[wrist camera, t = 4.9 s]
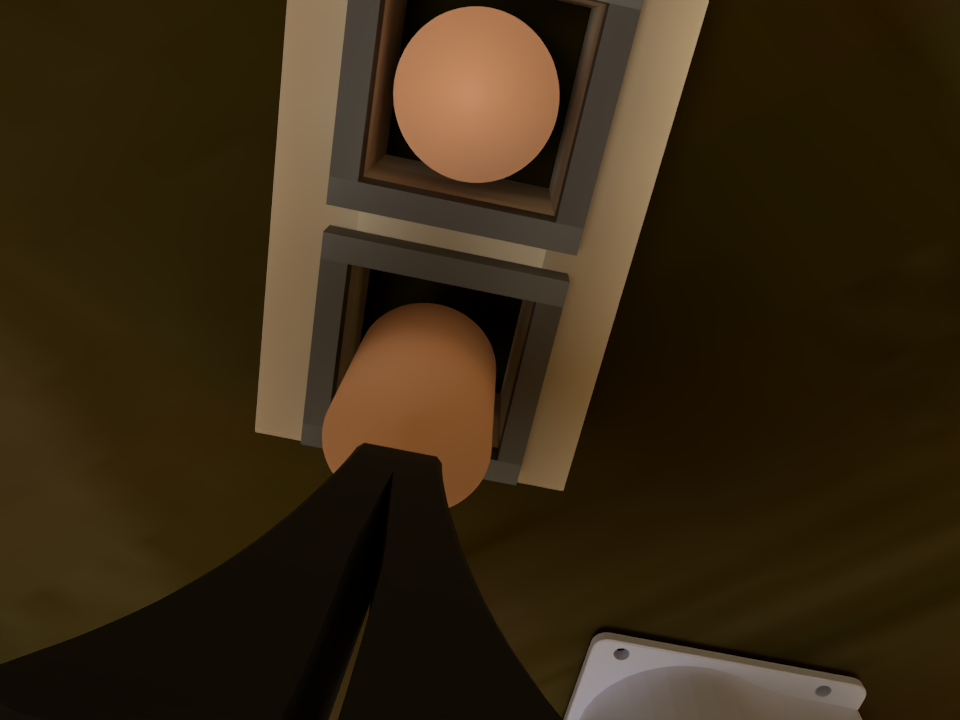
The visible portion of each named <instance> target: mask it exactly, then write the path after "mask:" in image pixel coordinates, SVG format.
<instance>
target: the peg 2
mask: <svg viewBox="0 0 960 720" xmlns="http://www.w3.org/2000/svg"><path fill="white" fill-rule="evenodd" d="M495 383H496V361H495V355H494V352H493V348H492V346H491V344H490V342H489V340H488V338H487V337H486V335H485V333H484V332H483V331H482V330H481V328H480V327H479V326H478V325H477V324H476V323H475V322H474V321H473V320H471V319H470V318H469V317H467V316H466V315H464V314H463V313H461V312H459V311H457V310H455V309H452V308H450V307H447V306H443V305H440V304H433V303H414V304H408V305H404V306H400V307H398V308H395V309H393V310H391V311H389V312H387V313H385V314H384V315H383V316H381V317H380V318H379V319H377V320H376V321H375V322H374V323H373V324H372V326H371V327H370V328H369V330H368V331H367V332H366V334H365V336H364V338H363V340H362V342H361V344H360V346H359V348H358V350H357V352H356V354H355V356H354V358H353V360H352V362H351V364H350V366H349V368H348V370H347V372H346V374H345V376H344V378H343V380H342V382H341V384H340V386H339V388H338V390H337V392H336V394H335V396H334V399H333V401H332V403H331V405H330V407H329V409H328V411H327V413H326V416H325V419H324V423H323V428H322V445H323V451H324V455H325V458H326V461H327V463H328V465H329V467H330V469H331V471H332V473H334V472H335V471H336V470H337V469H338V468H339V467H340V466H341V465H342V464H343V463H344V462H345V461H346V459H347V458H348V457H349V456H350V455H351V454H352V452H353V451H354V450H355V449H356V447H358V446H359V445H361V444H363V443H369V444H374V445H380V446H385V447H390V448H395V449H400V450H406V451H411V452H416V453H421V454H426V455H432V456H437V457H438V459H439V460H440V461H441V463H442V475H443V483H444V488H445V493H446V498H447V502H448V506H449V508H450V507H452V506H454V505H456V504H457V503H459V502H461V501H462V500H464V499H465V498H466V497H467V496H469V495H470V494H471V493H472V492H473V491H474V490H475V489H476V488H477V487H478V485H479V484H480V482H481V481H482V479H483V478H484V476H485V474H486V472H487V469H488V466H489V463H490V458H491V450H492V433H493V417H494V400H495Z"/></svg>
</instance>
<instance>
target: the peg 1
mask: <svg viewBox="0 0 960 720" xmlns="http://www.w3.org/2000/svg"><path fill="white" fill-rule="evenodd" d="M559 94H560V93H559V81H558V77H557V72H556V68H555V65H554V62H553V60H552V57H551V55H550V53H549V51H548V49H547V48H546V46H545V45H544V43H543V42H542V40H541V39H540V38H539V36H538V35H537V34H536V33H535V32H534V31H533V30H532V29H531V28H530V27H529V26H527V25H526V24H525V23H524V22H522V21H521V20H519V19H518V18H516V17H515V16H513V15H511V14H508V13H506V12H504V11H501V10H497V9H494V8H489V7H482V6H470V7H463V8H458V9H454V10H451V11H448V12H446V13H443V14H441V15H439V16H437V17H436V18H434V19H433V20H431V21H429V22H428V23H427V24H426V25H424V26H423V27H422V28H421V29H420V30H419V31H418V32H417V33H416V34H415V35H414V37H413V38H412V39H411V40H410V42H409V43H408V45H407V46H406V48H405V50H404V52H403V54H402V56H401V58H400V61H399V64H398V67H397V70H396V74H395V79H394V89H393V99H394V109H395V114H396V118H397V122H398V125H399V128H400V130H401V132H402V134H403V137H404V138H405V140H406V142H407V143H408V145H409V147H410V148H411V149H412V151H413V152H414V153H415V154H416V155H417V156H418V157H419V158H420V159H421V160H422V161H423V162H424V163H425V164H426V165H427V166H429V167H430V168H431V169H433V170H434V171H436V172H438V173H440V174H441V175H444V176H446V177H448V178H451V179H454V180H458V181H462V182H469V183H484V182H492V181H496V180H499V179H503V178H505V177H508V176H510V175H512V174H514V173H516V172H517V171H519V170H521V169H522V168H524V167H525V166H526V165H527V164H529V163H530V162H531V161H532V160H533V159H534V158H535V157H536V156H537V155H538V154H539V152H540V151H541V150H542V148H543V147H544V146H545V144H546V142H547V141H548V139H549V137H550V135H551V133H552V130H553V128H554V125H555V122H556V118H557V114H558V108H559Z"/></svg>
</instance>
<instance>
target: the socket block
mask: <svg viewBox="0 0 960 720" xmlns="http://www.w3.org/2000/svg"><path fill="white" fill-rule="evenodd" d="M407 1H408V0H287V11H286V24H285V38H284V51H283V64H282V78H281V91H280V104H279V118H278V131H277V144H276V158H275V171H274V185H273V198H272V211H271V225H270V238H269V251H268V265H267V278H266V292H265V305H264V318H263V332H262V345H261V358H260V372H259V385H258V399H257V412H256V425H255V432H258V433H264V434H269V435H274V436H279V437H284V438H290V439H295V440H300V441H301V444H303V445H308V446H313V447H318V448H323V445H322V428H323V423H324V419H325V416H326V413H327V411H328V409H329V407H330V405H331V403H332V401H333V399H334V396H335V394H336V392H337V390H338V388H339V386H340V384H341V382H342V380H343V378H344V376H345V374H346V372H347V370H348V368H349V366H350V364H351V362H352V360H353V358H354V356H355V354H356V352H357V350H358V348H359V346H360V340H361V333H362V326H363V319H364V311H365V304H366V297H367V290H368V283H369V275H370V269H375V270H380V271H385V272H390V273H395V274H400V275H405V276H410V277H414V278H419V279H424V280H429V281H434V282H439V283H444V284H449V285H454V286H459V287H464V288H469V289H474V290H479V291H484V292H488V293H493V294H498V295H503V296H508V297H513V298H518V299H523V300H522V304H521V308H520V313H519V317H518V321H517V325H516V329H515V334H514V338H513V342H512V346H511V351H510V355H509V359H508V363H507V368H506V372H505V376H504V380H503V384H502V389H501V393H497V392H495V400H494V417H493V433H492V450H491V458H490V463H489V466H488V469H487V472H486V474H485V476H484V478H483V479H485V480H490V481H495V482H501V483H506V484H511V485H517V482H519V483H524V484H529V485H534V486H539V487H545V488H550V489H555V490H560V491H563V490H564V486H565V483H566V480H567V476H568V473H569V470H570V466H571V463H572V460H573V456H574V453H575V449H576V446H577V443H578V439H579V436H580V433H581V429H582V426H583V423H584V419H585V416H586V412H587V409H588V406H589V402H590V399H591V396H592V392H593V389H594V386H595V382H596V379H597V376H598V372H599V369H600V365H601V362H602V359H603V355H604V352H605V349H606V345H607V342H608V339H609V335H610V332H611V328H612V325H613V322H614V318H615V315H616V312H617V308H618V305H619V302H620V298H621V295H622V292H623V288H624V285H625V281H626V278H627V275H628V271H629V268H630V265H631V261H632V258H633V255H634V251H635V248H636V244H637V241H638V238H639V234H640V231H641V228H642V224H643V221H644V218H645V214H646V211H647V208H648V204H649V201H650V197H651V194H652V191H653V187H654V184H655V181H656V177H657V174H658V171H659V167H660V164H661V160H662V157H663V154H664V150H665V147H666V144H667V140H668V137H669V134H670V130H671V127H672V124H673V120H674V117H675V113H676V110H677V107H678V103H679V100H680V97H681V93H682V90H683V87H684V83H685V80H686V76H687V73H688V70H689V66H690V63H691V60H692V56H693V53H694V50H695V46H696V43H697V40H698V36H699V33H700V29H701V26H702V23H703V19H704V16H705V13H706V9H707V6H708V3H709V0H557V1H561V2H566V3H570V4H575V5H580V6H584V7H589V8H591V12H590V16H589V21H588V25H587V29H586V33H585V38H584V42H583V46H582V50H581V55H580V59H579V63H578V67H577V71H576V76H575V80H574V84H573V88H572V93H571V97H570V101H569V105H568V110H567V114H566V118H565V122H564V126H563V131H562V135H561V139H560V143H559V148H558V152H557V156H556V160H555V165H554V169H553V173H552V177H551V181H550V186H549V188H545V187H540V186H536V185H531V184H526V183H521V182H517V181H512V180H507V179H499V180H496V181H492V182H484V183H469V182H462V181H458V180H454V179H451V178H448V177H446V176H444V175H441V174H440V173H438V172H436V171H434V170H433V169H431V168H430V167H429V166H427V165H426V164H425V163H424V162H421V161H416V160H411V159H407V158H402V157H397V156H392V155H388V154H386V152H387V145H388V138H389V131H390V123H391V116H392V109H393V102H394V99H393V89H394V79H395V74H396V70H397V67H398V64H399V58H400V51H401V44H402V37H403V29H404V22H405V15H406V8H407Z"/></svg>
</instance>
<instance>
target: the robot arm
mask: <svg viewBox="0 0 960 720" xmlns="http://www.w3.org/2000/svg"><path fill="white" fill-rule="evenodd" d="M370 601H371V602H370ZM369 604H370V610H369V617H368V620H367V624H366V627H365V631H364V634H363V638H362V641H361V645H360V648H359V652H358V655H357V659H356V662H355V665H354V669H353V672H352V676H351V679H350V682H349V686H348V689H347V692H346V696H345V699H344V702H343V705H342V709H341V712H340V715H339V718H338V720H562V718H561V717H560V716H559V715H558V713H557V712H556V711H555V710H554V708H553V707H552V706H551V705H550V703H549V702H548V701H547V699H546V698H545V697H544V695H543V694H542V692H541V691H540V690H539V688H538V687H537V685H536V684H535V682H534V681H533V680H532V678H531V677H530V675H529V674H528V672H527V671H526V669H525V668H524V667H523V665H522V664H521V662H520V661H519V659H518V658H517V657H516V655H515V654H514V652H513V651H512V649H511V647H510V646H509V644H508V642H507V641H506V639H505V637H504V636H503V634H502V632H501V630H500V629H499V627H498V625H497V624H496V622H495V620H494V618H493V616H492V614H491V612H490V611H489V609H488V607H487V605H486V603H485V601H484V599H483V597H482V595H481V593H480V591H479V589H478V586H477V584H476V582H475V580H474V577H473V575H472V573H471V570H470V568H469V565H468V563H467V561H466V558H465V556H464V553H463V550H462V548H461V545H460V542H459V539H458V536H457V533H456V530H455V527H454V524H453V520H452V517H451V514H450V510H449V506H448V502H447V498H446V493H445V488H444V483H443V475H442V463H441V461H440V460H439V459H438V457H437V456H432V455H426V454H421V453H416V452H411V451H406V450H400V449H395V448H390V447H385V446H380V445H374V444H369V443H363V444H361V445H359V446H358V447H356V449H355V450H354V451H353V452H352V454H351V455H350V456H349V457H348V458H347V459H346V461H345V462H344V463H343V464H342V465H341V466H340V467H339V468H338V469H337V470H336V471H335V472H334V473H333V474H332V475H331V476H330V477H329V478H328V479H327V480H326V481H325V482H324V483H323V484H322V485H321V486H320V487H319V488H318V489H317V490H316V491H315V492H314V493H313V494H312V495H310V496H309V497H308V498H307V499H306V500H305V501H304V502H303V503H302V504H301V505H300V506H298V507H297V508H296V509H295V510H294V511H293V512H291V513H290V514H289V515H288V516H286V517H285V518H284V519H283V520H282V521H280V522H279V523H278V524H277V525H275V526H274V527H273V528H272V529H270V530H269V531H268V532H267V533H265V534H264V535H263V536H261V537H260V538H259V539H257V540H256V541H255V542H253V543H252V544H251V545H249V546H248V547H246V548H245V549H244V550H242V551H241V552H239V553H238V554H236V555H235V556H233V557H232V558H230V559H229V560H227V561H226V562H224V563H223V564H221V565H220V566H218V567H216V568H215V569H213V570H212V571H210V572H208V573H207V574H205V575H203V576H201V577H200V578H198V579H196V580H195V581H193V582H191V583H189V584H188V585H186V586H184V587H183V588H181V589H179V590H177V591H176V592H174V593H172V594H170V595H168V596H166V597H164V598H163V599H161V600H159V601H157V602H155V603H153V604H151V605H149V606H147V607H144V608H142V609H140V610H138V611H136V612H134V613H132V614H129V615H127V616H125V617H123V618H121V619H118V620H116V621H114V622H111V623H109V624H107V625H104V626H102V627H100V628H97V629H95V630H93V631H90V632H88V633H85V634H83V635H80V636H78V637H75V638H73V639H70V640H67V641H64V642H62V643H59V644H56V645H53V646H51V647H48V648H45V649H42V650H39V651H37V652H34V653H31V654H28V655H25V656H23V657H20V658H17V659H14V660H11V661H9V662H6V663H2V664H0V720H329V717H330V714H331V711H332V708H333V706H334V703H335V700H336V697H337V694H338V692H339V689H340V686H341V683H342V680H343V678H344V675H345V672H346V669H347V666H348V664H349V661H350V658H351V655H352V652H353V650H354V647H355V644H356V641H357V638H358V635H359V633H360V630H361V627H362V624H363V621H364V618H365V616H366V613H367V610H368V607H369ZM619 648H624V649H625V650H622V651H617V649H619ZM820 686H821V687H820ZM865 697H866V690H865V688H864V686H863V684H862V682H861V681H859V680H858V679H856V678H853V677H847V676H842V675H837V674H831V673H826V672H820V671H815V670H809V669H804V668H799V667H793V666H788V665H782V664H777V663H772V662H766V661H761V660H755V659H750V658H744V657H739V656H734V655H728V654H723V653H717V652H712V651H707V650H701V649H696V648H690V647H685V646H680V645H674V644H669V643H663V642H658V641H652V640H647V639H642V638H636V637H631V636H625V635H620V634H615V633H607V632H604V633H600V634H597V635H596V636H594V638H593V639H592V641H591V643H590V646H589V649H588V652H587V654H586V657H585V660H584V663H583V666H582V669H581V671H580V674H579V677H578V680H577V683H576V685H575V688H574V691H573V694H572V697H571V699H570V702H569V705H568V708H567V711H566V713H565V716H564V719H563V720H862V718H861V716H860V714H859V712H858V709H859V707H860V706H861V704H862V702H863V701H864V699H865Z"/></svg>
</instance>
